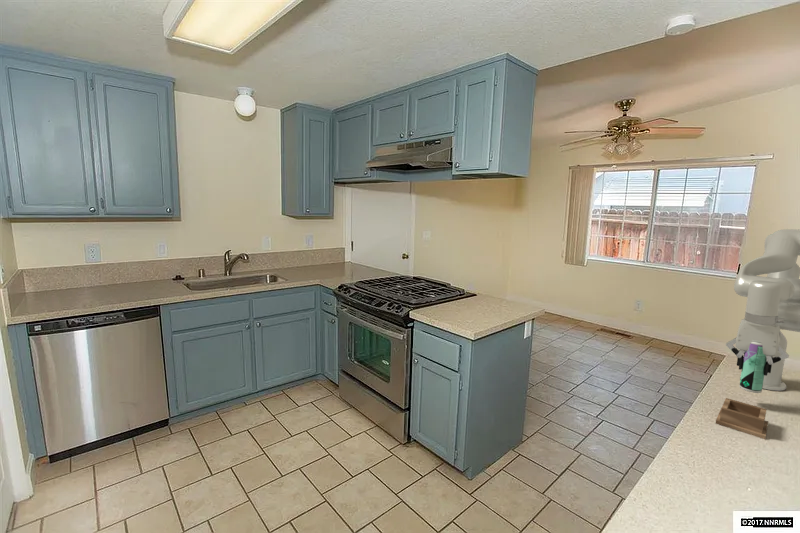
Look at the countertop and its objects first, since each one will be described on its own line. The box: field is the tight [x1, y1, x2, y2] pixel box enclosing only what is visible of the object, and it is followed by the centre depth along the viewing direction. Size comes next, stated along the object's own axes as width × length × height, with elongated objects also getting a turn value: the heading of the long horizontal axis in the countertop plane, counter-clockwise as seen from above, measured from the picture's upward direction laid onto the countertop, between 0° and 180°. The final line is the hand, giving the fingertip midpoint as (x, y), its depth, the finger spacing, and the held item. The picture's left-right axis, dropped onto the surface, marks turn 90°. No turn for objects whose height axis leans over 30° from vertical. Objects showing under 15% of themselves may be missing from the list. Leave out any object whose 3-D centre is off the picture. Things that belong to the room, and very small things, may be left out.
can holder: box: [715, 397, 769, 440], centre depth 114 cm, size 11×11×5 cm
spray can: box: [739, 340, 767, 394], centre depth 123 cm, size 6×6×20 cm
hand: (753, 370), depth 123 cm, fingers closed on spray can, 5 cm apart
